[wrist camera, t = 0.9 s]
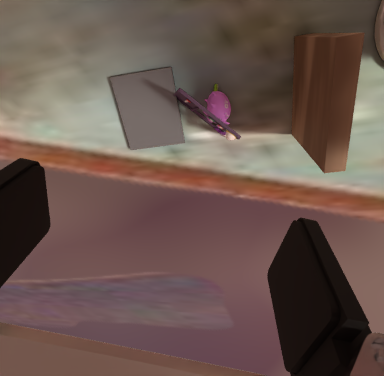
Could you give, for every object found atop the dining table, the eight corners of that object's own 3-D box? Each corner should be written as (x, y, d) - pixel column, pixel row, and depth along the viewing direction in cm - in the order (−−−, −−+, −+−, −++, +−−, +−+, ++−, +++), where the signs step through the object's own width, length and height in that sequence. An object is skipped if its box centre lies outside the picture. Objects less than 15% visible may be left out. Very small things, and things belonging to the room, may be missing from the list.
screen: (312, 33, 31) (364, 32, 21) (306, 132, 37) (345, 170, 26) (294, 36, 31) (337, 37, 21) (291, 134, 37) (324, 173, 27)
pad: (171, 66, 34) (170, 67, 33) (184, 141, 38) (184, 143, 38) (111, 76, 35) (109, 77, 34) (131, 148, 39) (130, 150, 39)
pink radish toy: (173, 96, 29) (235, 144, 31) (201, 55, 28) (263, 107, 31) (169, 100, 35) (221, 140, 38) (192, 67, 35) (243, 109, 37)
